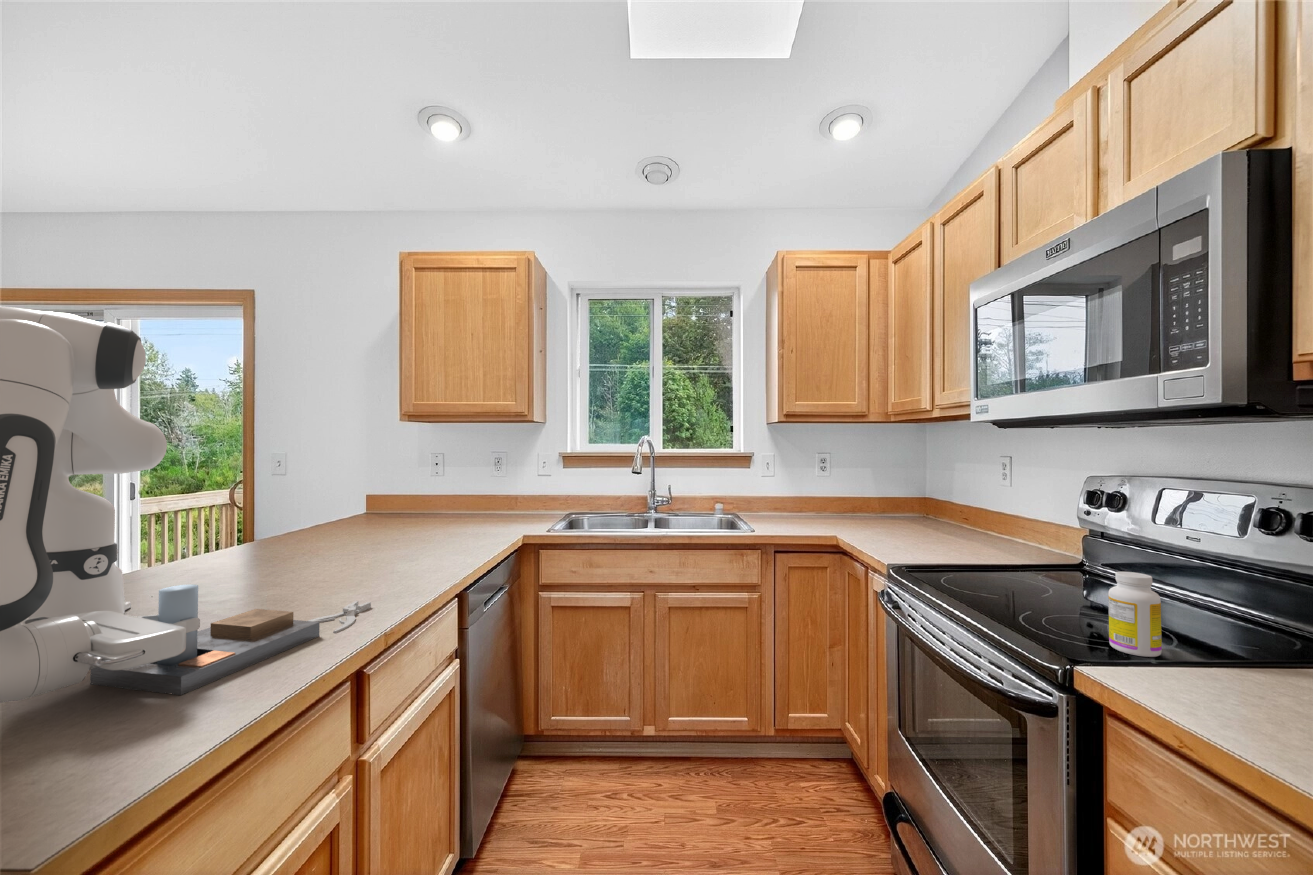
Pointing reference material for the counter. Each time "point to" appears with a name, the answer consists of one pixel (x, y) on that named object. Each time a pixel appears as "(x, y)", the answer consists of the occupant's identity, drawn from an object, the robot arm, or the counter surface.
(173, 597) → the peg
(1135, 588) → the supplement bottle
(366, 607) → the pliers
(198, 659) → the rack
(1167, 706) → the counter surface
